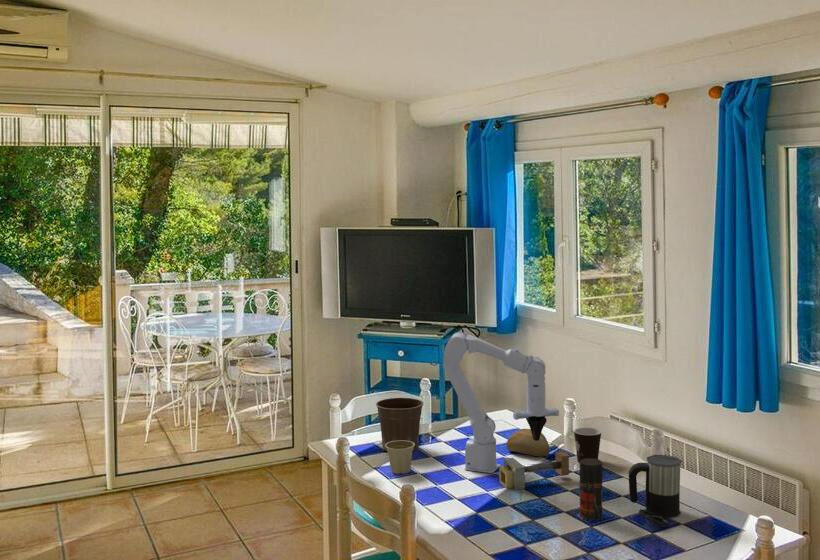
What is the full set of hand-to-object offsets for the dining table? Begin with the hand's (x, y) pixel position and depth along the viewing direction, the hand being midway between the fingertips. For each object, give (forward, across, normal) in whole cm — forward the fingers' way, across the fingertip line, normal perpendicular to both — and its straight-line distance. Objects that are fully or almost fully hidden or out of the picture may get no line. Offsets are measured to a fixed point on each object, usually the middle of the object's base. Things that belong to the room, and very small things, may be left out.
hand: (536, 439), depth 269 cm
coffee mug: (+10, +20, +4) cm, 22 cm away
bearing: (+10, -11, -9) cm, 17 cm away
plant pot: (+10, -35, +35) cm, 51 cm away
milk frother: (+10, +17, -45) cm, 49 cm away
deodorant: (+10, 0, -39) cm, 40 cm away
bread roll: (+10, +4, +17) cm, 20 cm away
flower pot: (+10, -41, +12) cm, 44 cm away
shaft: (+8, -2, -9) cm, 13 cm away
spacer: (+10, -14, -9) cm, 19 cm away
